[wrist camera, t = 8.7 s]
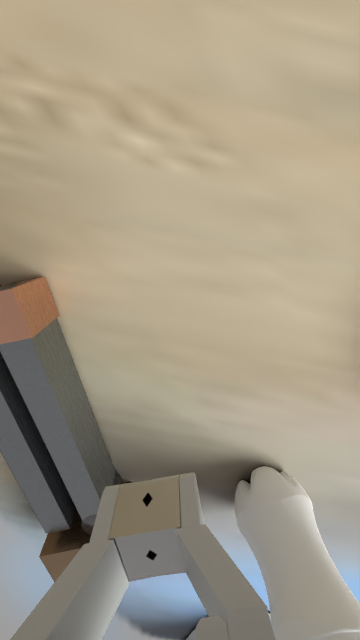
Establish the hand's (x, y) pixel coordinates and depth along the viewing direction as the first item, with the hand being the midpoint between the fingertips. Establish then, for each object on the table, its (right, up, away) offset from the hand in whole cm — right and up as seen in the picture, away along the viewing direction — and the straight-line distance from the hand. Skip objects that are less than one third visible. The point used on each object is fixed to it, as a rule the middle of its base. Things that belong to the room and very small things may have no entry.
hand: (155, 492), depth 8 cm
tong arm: (-8, -1, +13) cm, 15 cm away
